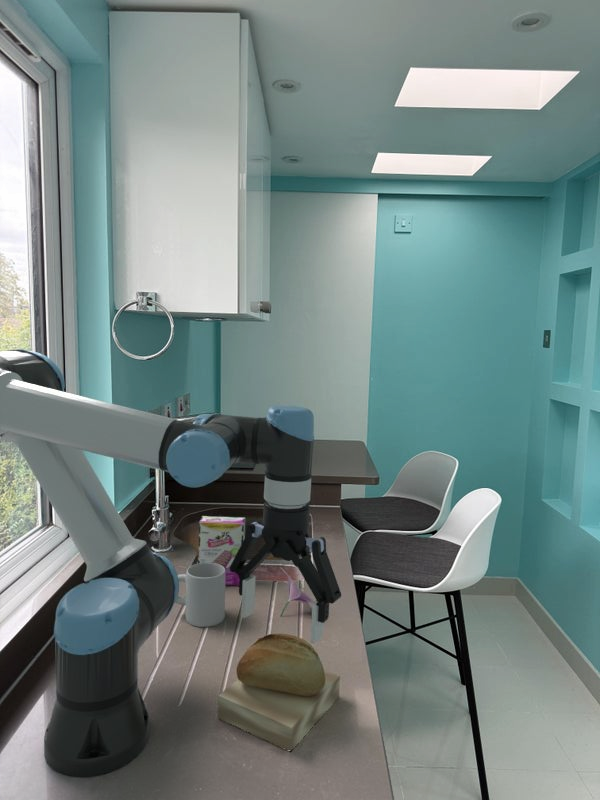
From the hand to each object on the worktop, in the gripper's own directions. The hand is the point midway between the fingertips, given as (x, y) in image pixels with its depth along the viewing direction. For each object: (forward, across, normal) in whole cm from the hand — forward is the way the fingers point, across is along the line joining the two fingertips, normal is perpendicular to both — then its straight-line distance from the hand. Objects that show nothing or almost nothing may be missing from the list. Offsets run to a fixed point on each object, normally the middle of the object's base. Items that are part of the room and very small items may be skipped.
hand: (280, 626), depth 96 cm
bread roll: (+11, 0, 0) cm, 11 cm away
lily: (+15, +15, -31) cm, 37 cm away
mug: (+15, +31, -16) cm, 38 cm away
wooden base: (+14, -1, 0) cm, 14 cm away
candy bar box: (+15, +38, -33) cm, 53 cm away
